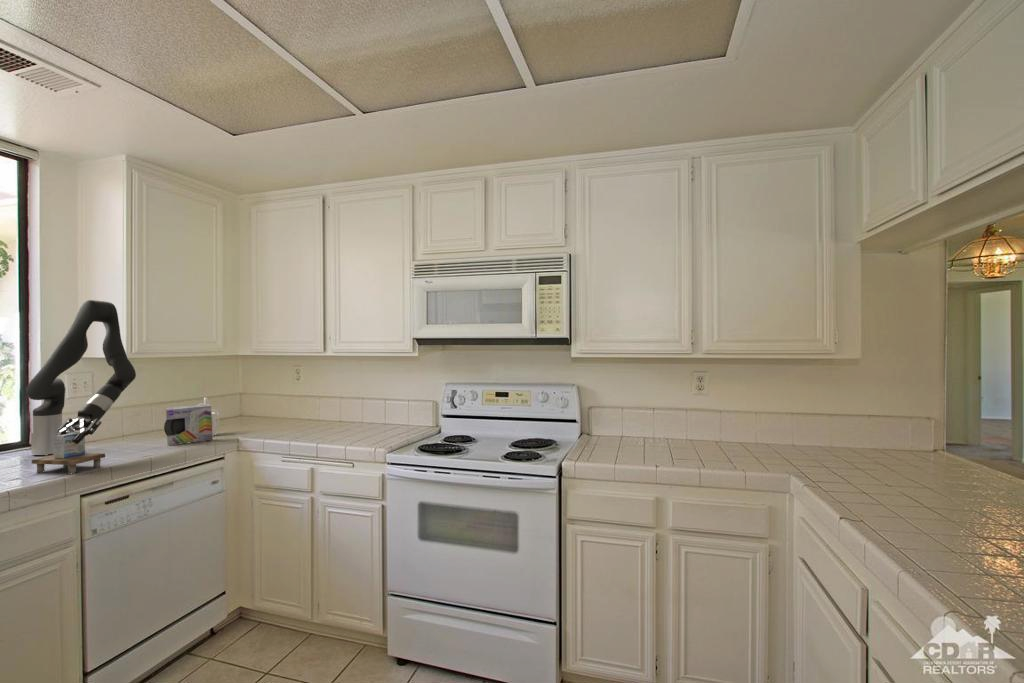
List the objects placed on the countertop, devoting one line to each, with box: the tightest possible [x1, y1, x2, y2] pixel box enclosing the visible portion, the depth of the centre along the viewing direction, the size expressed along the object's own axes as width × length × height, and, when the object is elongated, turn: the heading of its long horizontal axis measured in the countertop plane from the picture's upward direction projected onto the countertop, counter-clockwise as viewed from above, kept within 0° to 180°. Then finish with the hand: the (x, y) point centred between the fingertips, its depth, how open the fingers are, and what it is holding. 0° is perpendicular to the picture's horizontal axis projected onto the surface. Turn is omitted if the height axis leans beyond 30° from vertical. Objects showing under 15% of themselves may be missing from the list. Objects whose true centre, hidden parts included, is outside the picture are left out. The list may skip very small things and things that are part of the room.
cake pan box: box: [163, 404, 214, 446], centre depth 228 cm, size 19×5×18 cm, turn 123°
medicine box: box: [53, 431, 86, 459], centre depth 181 cm, size 8×4×9 cm, turn 172°
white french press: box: [196, 396, 220, 437], centre depth 246 cm, size 10×9×20 cm
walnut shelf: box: [31, 452, 106, 475], centre depth 180 cm, size 18×12×5 cm, turn 81°
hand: (65, 442), depth 179 cm, fingers open, 8 cm apart
